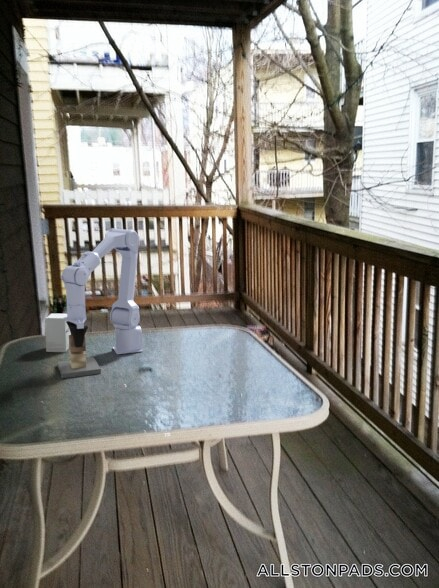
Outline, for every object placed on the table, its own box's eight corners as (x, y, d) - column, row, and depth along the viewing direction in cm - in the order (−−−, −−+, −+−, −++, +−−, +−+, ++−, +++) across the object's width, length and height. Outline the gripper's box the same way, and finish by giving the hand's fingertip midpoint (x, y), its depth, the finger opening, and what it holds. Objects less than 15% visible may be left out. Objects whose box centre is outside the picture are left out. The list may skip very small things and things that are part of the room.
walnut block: (83, 346, 174) (82, 333, 173) (85, 350, 170) (85, 337, 169) (69, 348, 172) (68, 335, 171) (71, 352, 168) (70, 338, 167)
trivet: (93, 361, 180) (93, 357, 180) (100, 373, 170) (100, 368, 169) (57, 365, 175) (57, 361, 175) (62, 378, 165) (62, 373, 164)
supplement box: (66, 352, 189) (64, 318, 186) (45, 352, 189) (43, 317, 186) (72, 346, 196) (71, 313, 194) (52, 345, 196) (50, 312, 194)
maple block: (83, 362, 175) (83, 349, 174) (86, 366, 171) (85, 353, 170) (69, 363, 173) (69, 350, 172) (71, 368, 169) (71, 355, 168)
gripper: (59, 299, 173) (61, 339, 176) (66, 309, 160) (68, 352, 163) (81, 298, 176) (83, 337, 178) (90, 307, 163) (91, 350, 165)
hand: (77, 344), depth 171 cm, fingers closed on walnut block, 4 cm apart
